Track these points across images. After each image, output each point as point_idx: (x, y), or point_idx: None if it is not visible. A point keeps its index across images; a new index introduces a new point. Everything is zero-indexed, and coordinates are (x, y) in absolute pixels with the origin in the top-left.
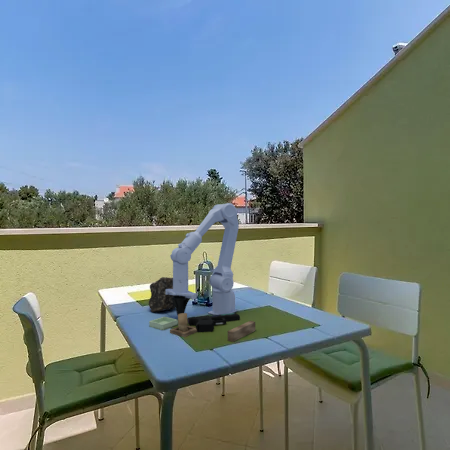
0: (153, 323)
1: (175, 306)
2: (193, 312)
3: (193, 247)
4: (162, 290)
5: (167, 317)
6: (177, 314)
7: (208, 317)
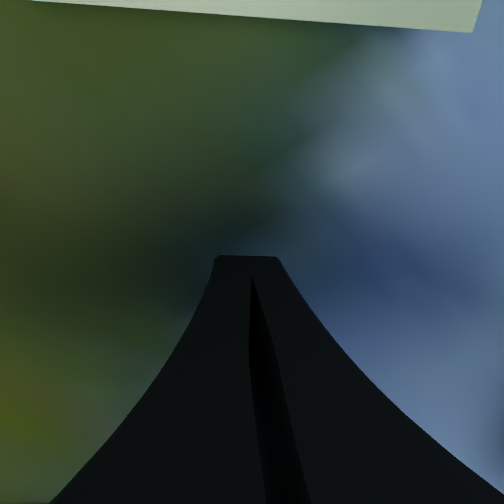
0: None
1: (343, 375)
2: None
3: None
4: None
5: (350, 10)
6: (276, 268)
7: None
